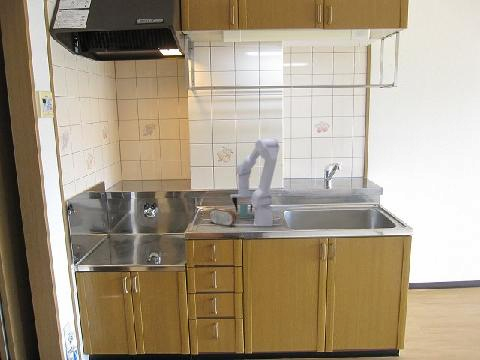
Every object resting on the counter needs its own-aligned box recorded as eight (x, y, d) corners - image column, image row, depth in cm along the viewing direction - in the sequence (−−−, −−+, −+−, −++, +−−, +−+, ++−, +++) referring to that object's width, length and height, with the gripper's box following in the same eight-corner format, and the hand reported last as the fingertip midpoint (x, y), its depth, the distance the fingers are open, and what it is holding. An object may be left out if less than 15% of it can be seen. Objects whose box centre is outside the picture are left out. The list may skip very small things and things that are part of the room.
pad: (252, 215, 216) (252, 214, 216) (252, 219, 209) (252, 217, 208) (235, 215, 217) (235, 214, 216) (235, 219, 209) (235, 218, 209)
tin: (236, 225, 198) (236, 209, 196) (233, 227, 195) (233, 211, 193) (212, 221, 205) (211, 206, 204) (208, 223, 202) (208, 207, 201)
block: (247, 214, 214) (247, 204, 213) (247, 216, 211) (247, 206, 209) (240, 214, 215) (240, 204, 213) (240, 216, 211) (240, 206, 210)
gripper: (257, 185, 213) (257, 209, 216) (230, 185, 214) (230, 209, 216) (257, 187, 206) (257, 212, 209) (229, 187, 207) (230, 212, 209)
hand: (243, 211), depth 212 cm, fingers open, 7 cm apart
